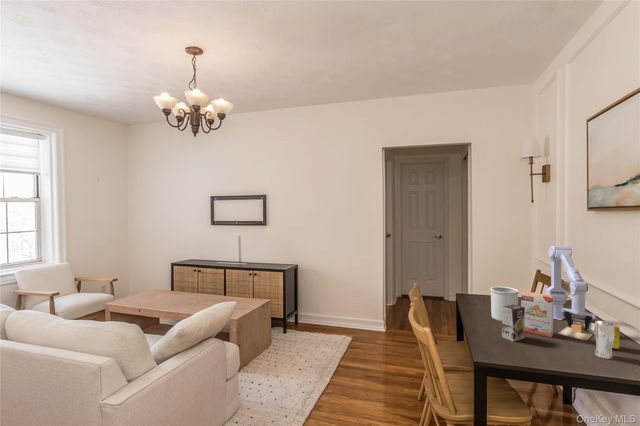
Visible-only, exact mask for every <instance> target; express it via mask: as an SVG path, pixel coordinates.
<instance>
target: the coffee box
mask: <svg viewBox="0 0 640 426" xmlns="http://www.w3.org/2000/svg"><path fill="white" fill-rule="evenodd" d="M501 322H502V325H501V326H502V327H501V338H503V339H506V340H508V341H511V342H517V341H520V340H523V339H525V332H524V322H525V307H522V306H521V305H519V304H518V305H508V306H503V320H502V321H501Z"/></svg>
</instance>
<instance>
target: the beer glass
mask: <svg viewBox="0 0 640 426" xmlns="http://www.w3.org/2000/svg"><path fill="white" fill-rule="evenodd" d="M594 324H595V327H594V341H595V345H596V346H595V347H596V348H595V351H594V355H595V356H596V357H599V358H601V359H604V358H605V359H606V360H612V359H613V352H612V345H613V341H614V325H615V324H614V323H612V322H609V321H605V320H594Z"/></svg>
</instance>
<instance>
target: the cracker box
mask: <svg viewBox="0 0 640 426" xmlns="http://www.w3.org/2000/svg"><path fill="white" fill-rule="evenodd" d="M520 306H522V307H525V322H524V333H529V334H532V335H538V336H542V337H546V338H553V334H554V332H553V331H554V319H553V312H554V296H552V295H545V293H544V294H543V293H538V292H532V291H526V290H524V291H522V292H521V304H520Z"/></svg>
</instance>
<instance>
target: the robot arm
mask: <svg viewBox="0 0 640 426" xmlns="http://www.w3.org/2000/svg"><path fill="white" fill-rule="evenodd" d="M572 254H573V249H572V247H571V246H570V245H551V246H550V247H549V248H548V258H549V259H550V264H551V265H550V274H551V275H550V277H551V283H550V284H551V285H550V286H549V287H547V288H546V289H545V293H544V294H545V295H552V296H554V312H553V320H558V321H563V320H564V319H566V321H567V326H568V327H571V318H572V316H573V315H577V316H580V317H581V316H582V317H584V319H583V320H585V331H587V328H588V325H589V323H590V322H592V320H593V319H594V320H595V319H596V316H597V315H596V313H591V312H587V311H586V292H588V291H589V285H588V282H587V280H585V279H583V278H582V275H581V273H580V271H579V269H577V268H575V264H574V262H573V259H572ZM562 263H563V265H564V266H565V268H566V272H565V274H566V275H567V278H568V280H569V281H568V282H570V283H569V289H570V294H571V308H566V307H564V305H565V304H566V302H567V301H568V296H567V291H566V289H564V288H563V287H562Z"/></svg>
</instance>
